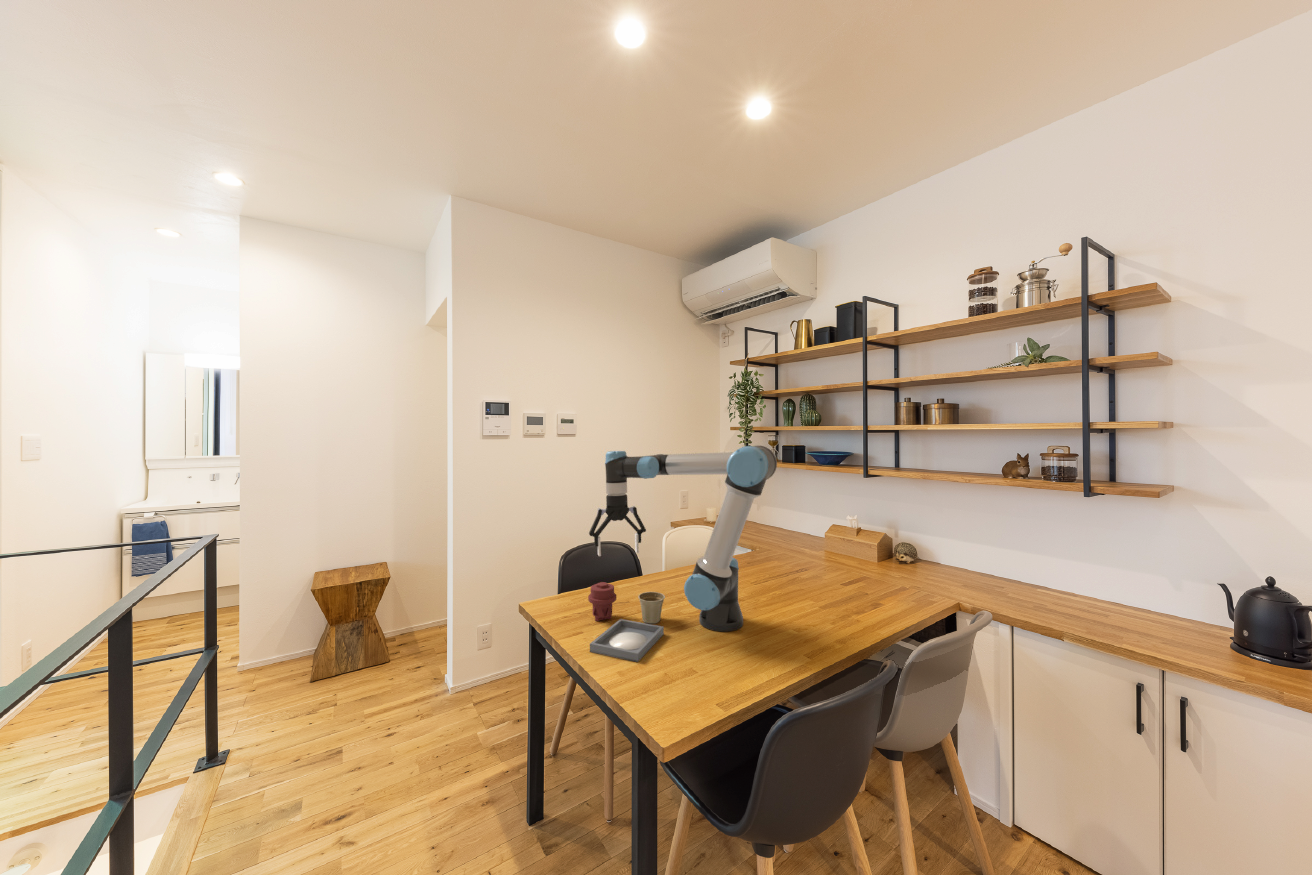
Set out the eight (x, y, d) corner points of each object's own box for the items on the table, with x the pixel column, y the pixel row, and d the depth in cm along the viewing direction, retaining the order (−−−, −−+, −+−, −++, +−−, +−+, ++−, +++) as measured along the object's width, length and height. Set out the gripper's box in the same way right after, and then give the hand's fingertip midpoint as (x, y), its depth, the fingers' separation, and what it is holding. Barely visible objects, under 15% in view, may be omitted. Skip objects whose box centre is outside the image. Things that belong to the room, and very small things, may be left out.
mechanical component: (592, 612, 171) (618, 613, 170) (585, 623, 161) (613, 624, 160) (592, 578, 170) (618, 579, 169) (585, 588, 161) (613, 589, 160)
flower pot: (670, 620, 163) (670, 596, 163) (652, 628, 156) (652, 603, 156) (651, 613, 170) (651, 589, 170) (632, 620, 163) (632, 596, 163)
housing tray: (663, 634, 152) (663, 626, 152) (637, 662, 134) (637, 653, 134) (620, 626, 158) (620, 618, 158) (589, 651, 140) (589, 643, 140)
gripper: (648, 491, 172) (649, 548, 172) (580, 494, 166) (582, 554, 166) (653, 493, 164) (654, 553, 164) (582, 497, 158) (584, 559, 158)
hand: (618, 553), depth 165 cm, fingers open, 13 cm apart
